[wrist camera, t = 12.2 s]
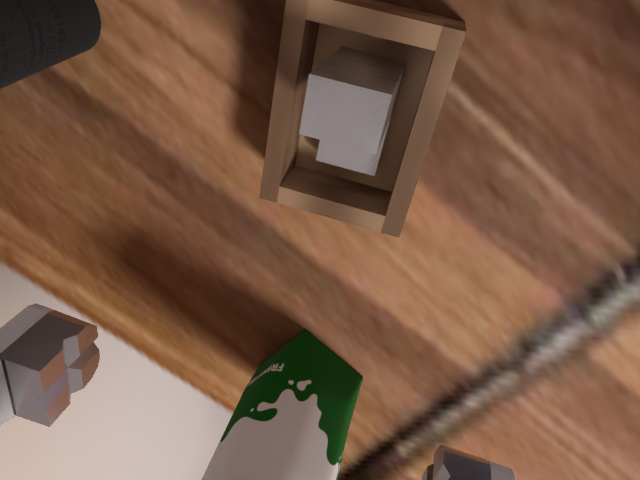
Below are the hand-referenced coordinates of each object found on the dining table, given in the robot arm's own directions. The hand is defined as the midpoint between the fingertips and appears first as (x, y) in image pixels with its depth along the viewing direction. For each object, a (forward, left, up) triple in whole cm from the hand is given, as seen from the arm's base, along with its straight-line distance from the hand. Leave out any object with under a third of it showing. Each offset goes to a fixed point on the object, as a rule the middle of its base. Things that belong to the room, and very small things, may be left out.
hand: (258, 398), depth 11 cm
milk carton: (+1, +25, -25) cm, 35 cm away
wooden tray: (+2, 0, -25) cm, 24 cm away
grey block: (+2, 0, -24) cm, 24 cm away
